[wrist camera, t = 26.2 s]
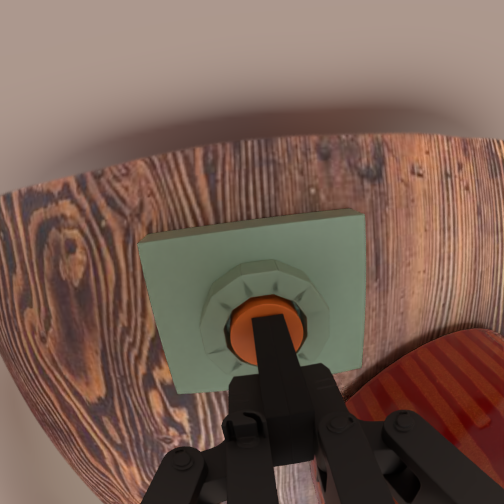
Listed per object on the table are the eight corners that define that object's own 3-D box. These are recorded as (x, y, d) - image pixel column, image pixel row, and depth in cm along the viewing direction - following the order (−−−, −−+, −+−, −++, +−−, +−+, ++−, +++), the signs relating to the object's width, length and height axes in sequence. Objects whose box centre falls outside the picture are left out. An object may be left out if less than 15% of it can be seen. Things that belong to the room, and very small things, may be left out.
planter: (488, 429, 27) (558, 525, 8) (328, 506, 28) (362, 636, 8) (514, 279, 21) (671, 388, 1) (275, 391, 21) (331, 667, 2)
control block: (181, 374, 20) (173, 413, 17) (147, 234, 18) (126, 253, 14) (351, 350, 21) (371, 384, 17) (350, 207, 18) (380, 220, 14)
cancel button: (235, 352, 17) (236, 370, 16) (225, 294, 16) (224, 309, 15) (298, 343, 17) (305, 360, 16) (294, 284, 16) (301, 298, 15)
